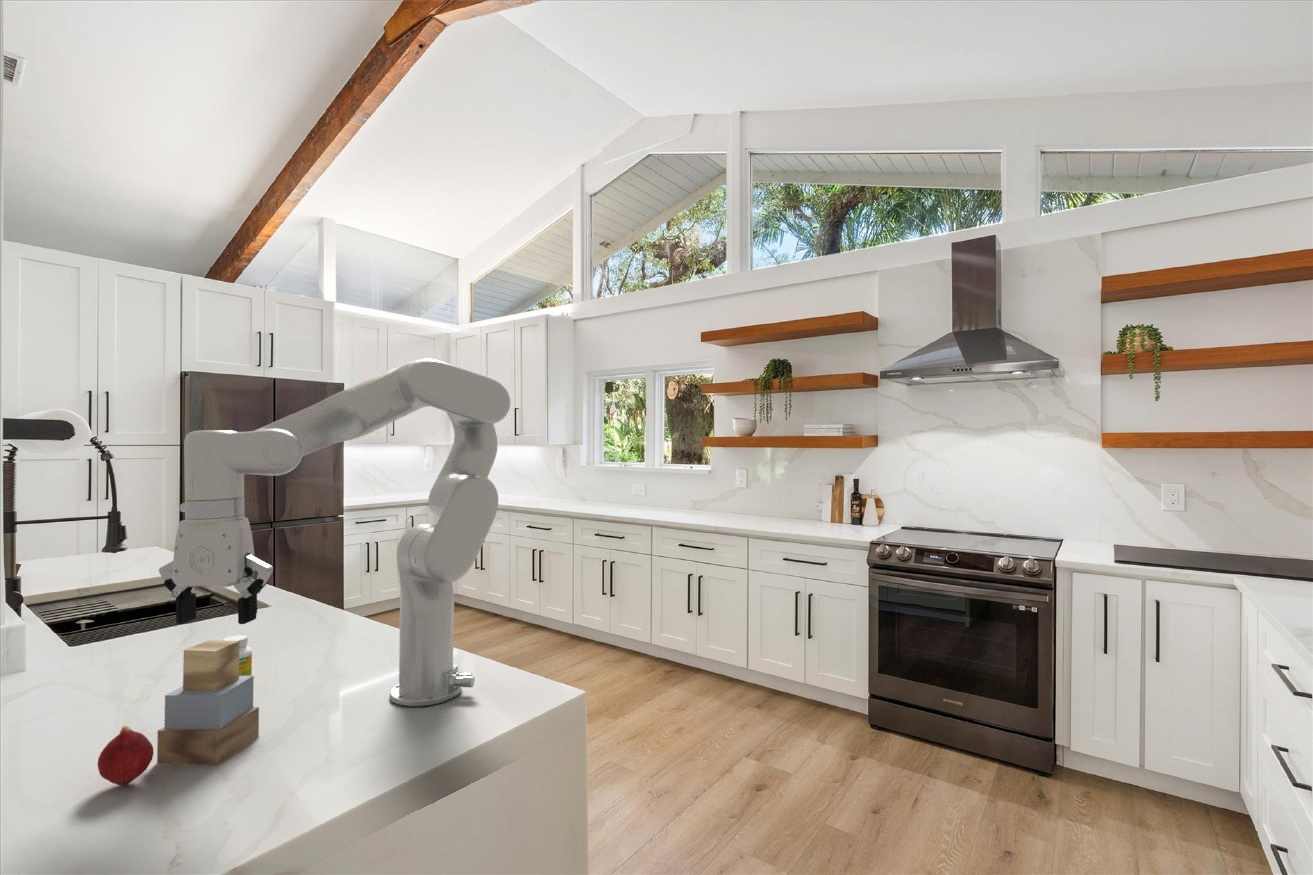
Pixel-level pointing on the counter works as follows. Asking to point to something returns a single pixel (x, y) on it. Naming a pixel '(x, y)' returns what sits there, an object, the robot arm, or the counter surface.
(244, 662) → the supplement bottle
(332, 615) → the counter surface
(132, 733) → the onion
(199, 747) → the tower base
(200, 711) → the grey square block
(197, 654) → the oak block
